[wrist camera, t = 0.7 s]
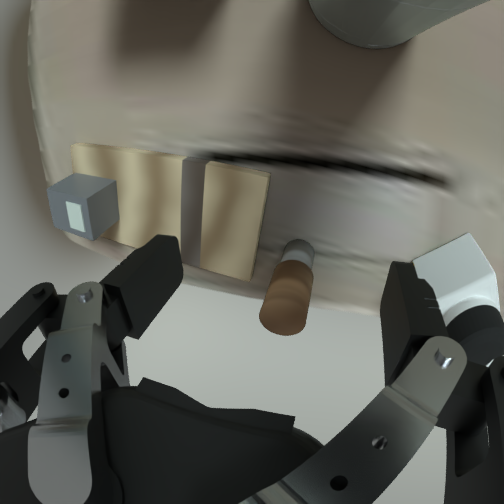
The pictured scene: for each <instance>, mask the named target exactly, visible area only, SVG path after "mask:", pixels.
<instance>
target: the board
mask: <svg viewBox="0 0 504 504" xmlns="http://www.w3.org/2000/svg"><path fill="white" fill-rule="evenodd" d="M71 158H72V168H73V174H74V173H80V174H86V175H91V176H97V177H102V178H107V179H113V180H116V182H117V195H118V207H119V216H120V219H119V220H118V221H117V222H116V223H114V224H113V225H112V226H111V227H110V228H108V229H107V230H106V231H105V232H104V233H102V234H101V235H100V236H101V237H104V238H107V239H110V240H113V241H116V242H119V243H122V244H125V245H128V246H132V247H135V248H140V247H142V246H144V245H145V244H146V243H147V242H149V241H150V240H151V239H152V238H153V237H154V236H156V235H157V234H162V235H172V236H176V237H177V239H178V242H179V248H180V254H181V260H182V263H185V264H188V265H192V266H195V267H198V268H203V269H206V270H209V271H213V272H216V273H219V274H223V275H226V276H230V277H233V278H237V279H240V280H244V281H247V282H250V280H251V278H252V276H253V270H254V265H255V259H256V254H257V248H258V243H259V237H260V232H261V226H262V220H263V215H264V209H265V204H266V198H267V193H268V187H269V181H270V176H271V173H267V172H263V171H258V170H253V169H249V168H244V167H239V166H235V165H230V164H225V163H219V162H214V161H209V160H204V159H198V158H193V157H186V156H180V155H174V154H167V153H161V152H154V151H147V150H139V149H132V148H123V147H115V146H106V145H95V144H84V143H76V144H73V145H71Z"/></svg>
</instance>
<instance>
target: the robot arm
mask: <svg viewBox="0 0 504 504" xmlns="http://www.w3.org/2000/svg"><path fill="white" fill-rule="evenodd" d="M487 1H490V0H309V3H310V6H311V9H312V11H313V13H314V14H315V16H316V18H317V19H318V21H319V22H320V23H321V24H322V25H323V26H324V27H325V28H326V29H327V30H328V31H330V32H331V33H332V34H333V35H335V36H336V37H338V38H340V39H342V40H343V41H345V42H348V43H350V44H353V45H356V46H360V47H365V48H372V49H383V48H389V47H393V46H396V45H399V44H401V43H403V42H406V41H408V40H410V39H411V38H413V37H414V36H416V35H418V34H420V33H422V32H423V31H425V30H427V29H429V28H431V27H433V26H435V25H437V24H439V23H441V22H443V21H445V20H447V19H449V18H451V17H453V16H455V15H458V14H460V13H462V12H464V11H466V10H468V9H471V8H473V7H475V6H478V5H480V4H482V3H485V2H487ZM182 279H183V266H182V260H181V254H180V248H179V242H178V239H177V237H176V236H172V235H162V234H157V235H156V236H154V237H153V238H152V239H151V240H150V241H149V242H147V243H146V244H145V245H144V246H142V247H140V248H138V249H136V250H134V251H133V252H132V253H131V254H130V255H129V256H128V257H127V259H124V260H123V261H122V262H121V263H120V265H118V266H117V267H115V269H114V270H112V271H111V272H110V273H109V274H108V275H107V276H106V277H105V278H104V279H103V280H101V281H100V282H99V283H97V282H85V283H82V284H80V285H78V286H76V287H75V288H73V289H72V290H71V291H70V292H69V294H68V295H58V294H57V292H56V290H55V288H54V285H53V284H52V283H49V282H45V283H40V284H38V285H36V286H34V287H32V288H31V289H30V290H29V291H28V292H27V293H26V294H25V295H24V296H23V297H21V298H20V299H19V300H18V301H17V302H16V304H14V305H13V306H12V307H11V308H10V309H9V310H8V311H7V312H6V313H5V314H4V315H3V316H2V317H1V318H0V504H372V503H373V502H374V501H375V500H376V499H377V498H378V497H379V496H380V495H381V493H383V491H384V490H385V489H386V488H387V487H388V486H389V485H390V484H391V483H392V481H393V480H394V479H395V478H396V477H397V476H398V474H399V473H400V472H401V471H402V470H403V468H404V467H405V466H406V465H407V463H408V462H409V461H410V460H411V458H412V457H413V456H414V454H415V453H416V452H417V450H418V449H419V448H420V446H421V445H422V443H423V442H424V441H425V439H426V438H427V436H428V435H429V434H430V432H431V431H432V429H433V428H434V426H438V427H441V428H444V429H446V437H447V462H446V484H445V496H444V497H445V498H444V504H504V356H499V357H497V358H495V359H494V360H493V361H492V363H491V364H490V365H489V367H487V366H484V365H480V364H477V363H474V362H471V361H469V360H467V356H466V353H465V351H464V349H463V348H462V347H461V345H460V344H459V343H457V342H456V341H455V340H453V339H451V338H449V335H448V332H447V329H446V325H445V322H444V319H443V316H442V313H441V310H440V309H439V304H438V301H436V299H437V298H436V295H435V293H434V290H433V288H432V287H431V286H430V284H429V283H428V282H427V281H426V280H425V279H420V278H418V276H417V273H416V270H415V267H414V265H413V264H412V263H405V262H397V261H393V262H392V263H391V266H390V269H389V273H388V277H387V281H386V284H385V288H384V292H383V295H382V299H381V306H380V317H381V327H382V338H383V353H384V373H385V388H384V389H383V390H382V391H381V392H380V393H379V394H378V395H377V396H376V397H375V398H374V399H373V400H372V401H371V402H370V403H369V404H368V405H367V406H366V407H365V409H363V411H362V412H360V413H359V414H358V415H357V416H356V417H355V418H354V419H353V421H351V422H350V423H349V424H348V425H347V426H346V427H345V428H344V429H343V430H342V431H341V432H339V433H338V434H337V435H336V436H335V437H334V438H333V439H332V440H331V441H329V442H328V443H327V444H326V445H325V446H324V445H322V444H321V443H320V442H319V441H318V440H317V439H315V438H314V437H312V436H311V435H309V434H307V433H305V432H304V431H302V430H300V429H297V428H294V427H293V425H294V421H295V416H289V415H283V414H278V413H272V412H267V411H262V410H256V409H224V408H223V409H222V408H210V407H207V406H205V405H203V404H201V403H199V402H198V401H196V400H194V399H193V398H191V397H189V396H188V395H186V394H184V393H183V392H181V391H179V390H178V389H176V388H173V387H171V386H168V385H165V384H162V383H159V382H156V381H153V380H150V379H147V378H144V377H143V378H142V380H141V382H140V383H139V385H138V386H130V383H129V375H128V366H127V356H126V346H125V343H124V340H123V339H124V338H125V337H126V336H129V337H132V338H135V339H139V338H140V337H141V336H142V334H143V333H144V331H145V330H146V329H147V327H148V326H149V325H150V323H151V322H152V321H153V320H154V318H155V317H156V316H157V314H158V313H159V312H160V310H161V309H162V308H163V306H164V305H165V304H166V302H167V301H168V300H169V299H170V297H171V296H172V295H173V293H174V292H175V291H176V289H177V288H178V287H179V285H180V284H181V282H182ZM37 326H38V327H39V329H40V330H41V332H42V334H43V336H44V337H45V339H46V340H45V341H44V342H43V343H42V345H41V346H40V347H39V348H38V350H37V351H36V352H35V353H34V354H33V356H32V357H31V358H30V359H29V361H28V360H27V359H26V357H25V356H24V354H23V351H22V345H23V343H24V341H25V340H26V339H27V338H28V336H29V335H30V334H31V333H32V332H33V331H34V329H36V327H37ZM37 405H38V414H37V418H36V419H34V420H32V421H28V422H27V420H28V419H29V417H30V416H31V414H32V413H33V411H34V410H35V408H36V407H37ZM487 426H488V432H487ZM488 436H489V443H488Z"/></svg>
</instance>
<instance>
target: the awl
mask: <svg viewBox="0 0 504 504" xmlns="http://www.w3.org/2000/svg"><path fill="white" fill-rule="evenodd" d="M313 258H314V250H313V247H312V246H311V245H310V244H309V243H308V242H306V241H304V240H298V239H297V240H293V241H290V242H289V243H288V244H287V245H286V247H285V250H284V253H283V256H282V259H281V262H280V263H279V264H278V265H277V266H276V268H275V270H274V273H273V276H272V279H271V282H270V285H269V288H268V290H267V293H266V296H265V299H264V302H263V305H262V308H261V310H260V314H259V319H260V322H261V323H262V325H263V326H264V327H265V328H266V329H267V330H269V331H271V332H273V333H275V334H279V335H284V336H289V335H294V334H297V333H299V332H301V331H302V330H303V328H304V327H305V324H306V319H307V313H308V308H309V302H310V296H311V290H312V284H313V273H312V264H313Z"/></svg>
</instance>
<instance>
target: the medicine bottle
mask: <svg viewBox="0 0 504 504" xmlns="http://www.w3.org/2000/svg"><path fill="white" fill-rule="evenodd" d="M412 264H413V265H414V267H415V270H416V273H417V276H418V278H420V279H425V280H426V281H427V282H428V283H429V284H430V286H431V287H432V288H433V290H434V293H435V295H436V298H437V299H436V301H438V304H439V309H440V310H441V313H442V316H443V319H444V322H445V325H446V329H447V332H448V335H449V338H451V339H453V340H455V341H456V342H457V343H459V344H460V345H461V347H462V348H463V349H464V351H465V353H466V356H467V360H469V361H471V362H474V363H477V364H480V365H484V366H487V367H489V365H490V364H491V363H492V361H493V360H494V359H495V358H497V357H499V356H503V355H504V322H503V319H502V317H501V315H500V306H499V296H498V288H497V280H496V274H495V272H494V270H493V269H492V267H491V265H490V263H489V262H488V260H487V259H486V257H485V255H484V254H483V252H482V250H481V249H480V247H479V246H478V244H477V243H476V241H475V240H474V238H473V237H472V235H471V234H470V233H467V234H465V235H463V236H461V237H459V238H457V239H455V240H453V241H451V242H449V243H447V244H445V245H443V246H441V247H439V248H437V249H435V250H433V251H431V252H429V253H426V254H424V255H422V256H420V257H418V258H416V259H414V260H413V261H412Z"/></svg>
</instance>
